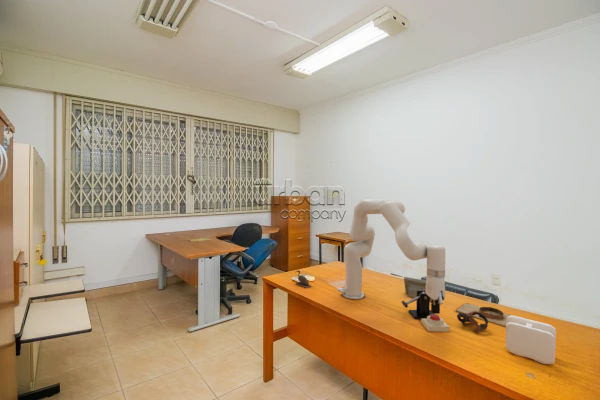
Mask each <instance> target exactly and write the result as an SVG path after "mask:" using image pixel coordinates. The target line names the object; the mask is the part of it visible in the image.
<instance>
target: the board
mask: <svg viewBox="0 0 600 400" xmlns="http://www.w3.org/2000/svg"><path fill="white" fill-rule="evenodd" d="M473 311H476V312H479V313H481V314H483V315H484V316H485V317H486V318H487V320H488V323H491V324H495V325H498V326H502V327H505V328H506V325H507V318H508V316H511V315H512V314H508V313H505V312H504V311H502V310H500V309H498V308H495V307H492V306H481V305H480V306H479V305H476V304H472V303H468V302H466V303H464V304H462V305H461V306H460V307H458V308H457V309H456V311H455V312H456V313H457V314H459V313H464V314H467V313H471V312H473ZM473 318H474V319H478V320H481V321H484V322H485V320H484V319H483V318H481V317H479V315H477V314H476V315H473Z"/></svg>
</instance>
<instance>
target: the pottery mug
mask: <svg viewBox="0 0 600 400" xmlns="http://www.w3.org/2000/svg"><path fill="white" fill-rule="evenodd" d="M476 314H477V315H479V317H481V318H483V319H484V320H485V321H484V320H483V321H484V323H480V324H479V321H477V320H476V318H475V317H473V315H476ZM456 318H457V320H458V322H460V323H461V324H462V325H463V326H465V324H466V323H469V324H472V325H474V326H475V329H474V332H475V333H480V332H482V331H485V330H486V329H488V326H489V322H488V320H487V318H486V317H485V316H484V315H483V314H481V313H479V312H476V311H473V312H471V313H467V314H464V313H457V315H456Z"/></svg>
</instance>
